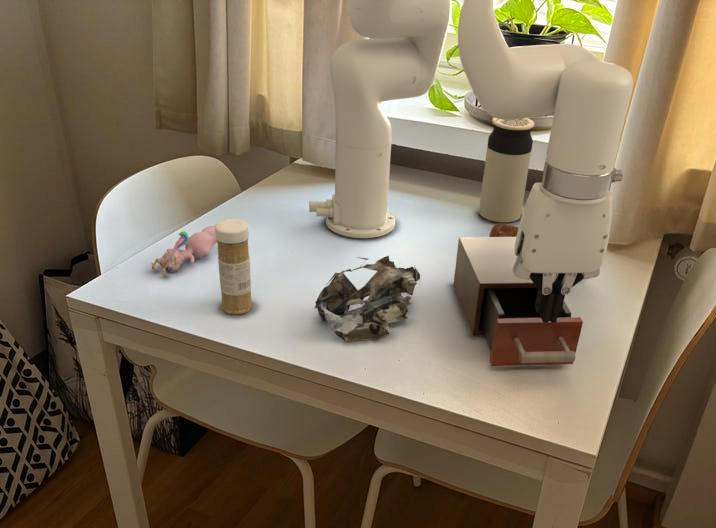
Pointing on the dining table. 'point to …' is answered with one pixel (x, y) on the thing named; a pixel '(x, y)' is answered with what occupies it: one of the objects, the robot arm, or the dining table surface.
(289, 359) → the dining table surface
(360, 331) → the foil
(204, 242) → the rabbit figure
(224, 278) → the sprinkles bottle
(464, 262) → the wooden drawer cabinet
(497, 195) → the travel mug
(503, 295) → the drawer
